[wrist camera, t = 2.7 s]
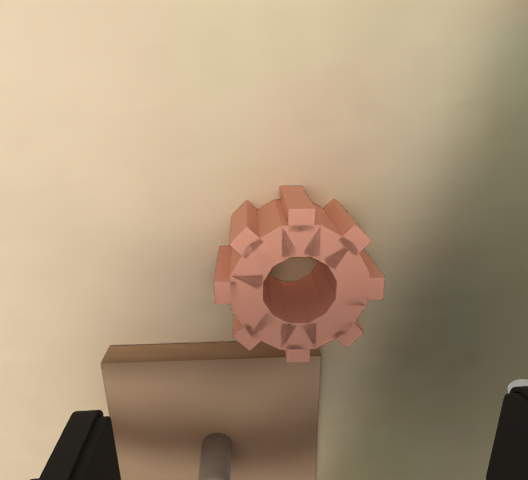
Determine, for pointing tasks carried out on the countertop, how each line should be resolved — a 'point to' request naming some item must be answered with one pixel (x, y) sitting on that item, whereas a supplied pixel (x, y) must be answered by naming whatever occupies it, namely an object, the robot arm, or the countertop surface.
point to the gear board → (212, 411)
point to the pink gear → (306, 289)
